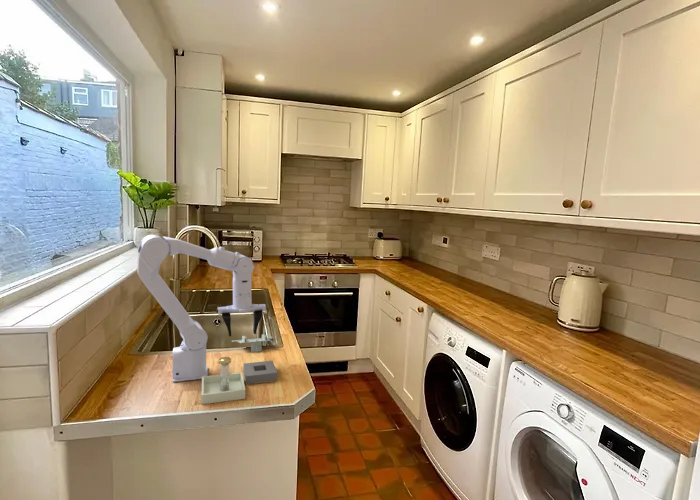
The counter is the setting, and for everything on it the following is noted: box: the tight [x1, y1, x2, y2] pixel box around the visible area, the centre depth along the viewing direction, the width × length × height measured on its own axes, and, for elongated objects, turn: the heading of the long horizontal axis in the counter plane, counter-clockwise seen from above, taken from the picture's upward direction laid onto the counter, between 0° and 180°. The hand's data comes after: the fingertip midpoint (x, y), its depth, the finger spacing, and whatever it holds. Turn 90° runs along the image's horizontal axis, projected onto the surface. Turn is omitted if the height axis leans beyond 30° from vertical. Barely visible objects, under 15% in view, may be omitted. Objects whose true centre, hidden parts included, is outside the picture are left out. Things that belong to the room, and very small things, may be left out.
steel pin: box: [218, 356, 232, 391], centre depth 104 cm, size 3×3×9 cm
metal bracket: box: [231, 333, 273, 353], centre depth 138 cm, size 14×6×15 cm
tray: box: [200, 371, 246, 405], centre depth 104 cm, size 11×11×2 cm
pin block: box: [242, 360, 278, 385], centre depth 114 cm, size 9×9×2 cm
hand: (242, 334), depth 120 cm, fingers open, 7 cm apart
